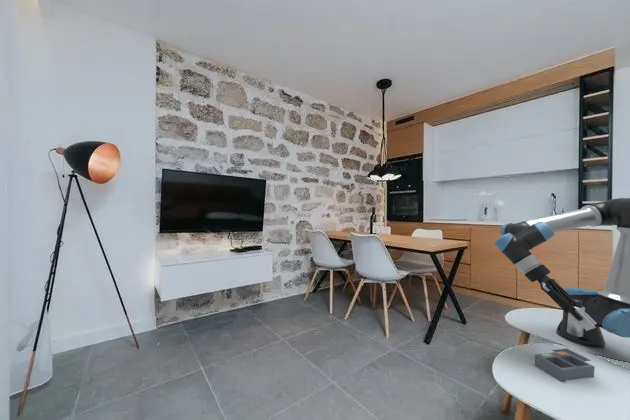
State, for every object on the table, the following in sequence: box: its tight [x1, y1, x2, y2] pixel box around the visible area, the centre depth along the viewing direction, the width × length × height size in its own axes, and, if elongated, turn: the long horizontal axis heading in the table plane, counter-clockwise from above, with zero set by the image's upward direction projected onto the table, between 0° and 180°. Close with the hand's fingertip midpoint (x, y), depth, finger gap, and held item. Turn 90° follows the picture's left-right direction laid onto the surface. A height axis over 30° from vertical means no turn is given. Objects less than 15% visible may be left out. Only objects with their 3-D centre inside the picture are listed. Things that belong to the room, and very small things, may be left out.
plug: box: [567, 299, 585, 337], centre depth 90 cm, size 4×4×12 cm
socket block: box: [533, 351, 595, 382], centre depth 91 cm, size 14×9×4 cm, turn 101°
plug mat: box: [551, 348, 592, 362], centre depth 100 cm, size 8×8×1 cm
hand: (591, 326), depth 87 cm, fingers closed on plug, 4 cm apart
